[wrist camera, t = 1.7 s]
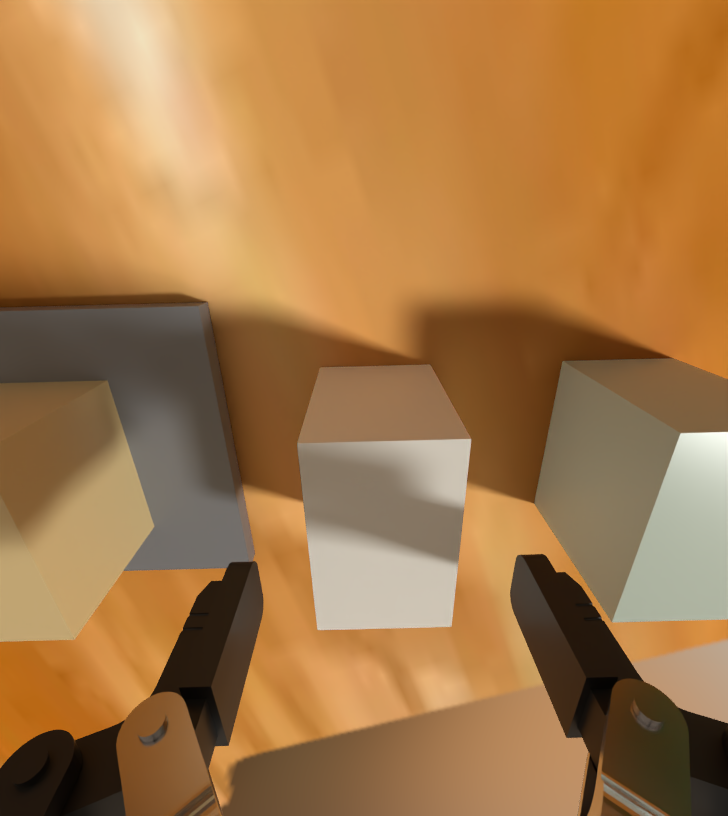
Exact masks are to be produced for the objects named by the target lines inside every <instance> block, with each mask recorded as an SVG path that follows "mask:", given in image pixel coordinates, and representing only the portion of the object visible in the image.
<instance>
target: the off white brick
mask: <svg viewBox="0 0 728 816" xmlns="http://www.w3.org/2000/svg"><path fill="white" fill-rule="evenodd" d="M470 447H471V437H470V435H469V434H468V432H467V430H466V428H465V426H464V425H463V423H462V421H461V419H460V417H459V416H458V414H457V412H456V410H455V408H454V406H453V405H452V403H451V401H450V399H449V397H448V396H447V394H446V392H445V390H444V388H443V387H442V385H441V383H440V381H439V379H438V377H437V376H436V374H435V372H434V370H433V368H432V367H431V365H430V364H428V365H389V366H351V367H320V369H319V372H318V376H317V379H316V382H315V386H314V389H313V392H312V395H311V399H310V402H309V405H308V409H307V412H306V415H305V419H304V422H303V425H302V428H301V432H300V435H299V438H298V442H297V448H298V457H299V466H300V475H301V484H302V494H303V503H304V512H305V521H306V530H307V539H308V548H309V557H310V566H311V575H312V584H313V593H314V602H315V611H316V620H317V629H318V630H343V629H382V628H421V627H451V626H452V616H453V607H454V598H455V588H456V579H457V569H458V560H459V551H460V541H461V532H462V523H463V513H464V504H465V494H466V485H467V476H468V466H469V457H470Z"/></svg>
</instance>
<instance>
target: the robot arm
mask: <svg viewBox="0 0 728 816" xmlns="http://www.w3.org/2000/svg"><path fill="white" fill-rule="evenodd" d="M510 597H511V604H512V608H513V611H514V614H515V616H516V619H517V621H518V624H519V626H520V628H521V631H522V633H523V635H524V638H525V640H526V643H527V645H528V647H529V650H530V652H531V654H532V657H533V659H534V662H535V664H536V666H537V669H538V671H539V673H540V676H541V678H542V681H543V683H544V685H545V688H546V690H547V692H548V695H549V697H550V699H551V702H552V704H553V706H554V709H555V711H556V714H557V716H558V718H559V721H560V723H561V726H562V728H563V730H564V733H565V735H566V737H567V738H577V737H582V738H583V740H584V742H585V744H586V747H587V749H588V751H589V752H588V755H587V759H586V765H585V771H584V778H583V784H582V790H581V796H580V802H579V808H578V814H577V816H728V723H724V722H721V721H718V720H715V719H711V718H708V717H705V716H701V715H698V714H695V713H691V712H688V711H685V710H683V709H680V708H678V707H677V706H676V705H675V704H674V703H673V702H672V701H671V700H670V699H669V698H668V697H667V696H666V695H665V694H664V693H662V692H661V691H660V690H658V689H657V688H655V687H654V686H652V685H650V684H648V683H646V682H644V681H643V680H642V678H641V677H640V676H639V674H638V673H637V671H636V670H635V668H634V667H633V665H632V664H631V662H630V661H629V659H628V657H627V656H626V654H625V653H624V651H623V650H622V648H621V647H620V645H619V644H618V642H617V641H616V639H615V637H614V636H613V634H612V633H611V631H610V630H609V628H608V627H607V625H606V624H605V622H604V621H602V619H601V616H600V614H599V613H598V611H597V610H596V608H595V607H593V605H592V602H591V601H590V599H589V597H588V596H587V594H586V593H585V591H584V590H583V588H582V587H581V586H580V585H579V584H578V583H577V582H576V581H574V580H573V579H572V578H571V577H570V576H569V575H568V574H566V573H565V572H558V573H556V571H555V570H554V568H553V566H552V565H551V563H550V561H549V560H548V558H547V557H546V556H545V555H543V554H535V555H518V556H517V558H516V562H515V567H514V573H513V579H512V584H511V590H510ZM262 613H263V593H262V588H261V582H260V577H259V571H258V566H257V563H256V562H255V561H252V562H231V563H230V564H229V565H228V567H227V570H226V572H225V575H224V577H223V579H222V581H211V582H210V583H209V584H208V585H207V586H206V587H205V589H204V590H203V591H202V592H201V593H200V594H199V595H198V596H197V598H196V601H195V603H194V605H193V607H192V609H191V611H190V616H189V617H188V618H187V620H186V622H185V625H184V627H183V631H181V633H180V635H179V638H178V640H177V642H176V644H175V646H174V649H173V651H172V653H171V655H170V657H169V659H168V662H167V664H166V666H165V668H164V670H163V673H162V675H161V677H160V679H159V681H158V683H157V686H156V688H155V689H154V691H153V693H152V694H151V696H150V697H149V698H147V699H146V700H144V701H143V702H141V703H140V704H139V705H138V706H137V707H135V709H134V710H133V711H132V712H131V713H130V714H129V715H128V717H127V718H126V720H124V721H122V722H121V723H119V724H117V725H114V726H112V727H109V728H107V729H104V730H101V731H99V732H96V733H93V734H91V735H88V736H85V737H83V738H80V739H77V740H74V738H73V737H72V735H71V734H70V733H69V732H67V731H64V730H52V731H48V732H45V733H43V734H40V735H38V736H36V737H35V738H33V739H31V740H30V741H28V742H27V743H25V744H24V745H23V746H21V747H20V748H19V749H18V750H17V751H16V752H15V753H14V754H13V755H12V756H11V757H10V758H9V759H8V760H7V761H6V762H5V763H4V765H3V766H2V767H1V768H0V816H223V813H222V810H221V807H220V804H219V801H218V797H217V794H216V791H215V788H214V785H213V782H212V779H211V775H210V772H209V769H208V768H209V765H210V761H211V758H212V754H213V751H214V747H215V746H229V742H230V738H231V734H232V731H233V727H234V723H235V719H236V715H237V711H238V707H239V704H240V700H241V696H242V692H243V688H244V684H245V680H246V677H247V673H248V669H249V665H250V661H251V657H252V654H253V650H254V646H255V642H256V638H257V634H258V630H259V627H260V623H261V619H262Z"/></svg>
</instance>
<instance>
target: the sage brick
mask: <svg viewBox="0 0 728 816" xmlns="http://www.w3.org/2000/svg"><path fill="white" fill-rule="evenodd" d="M534 504H535V506H536V507H537V509H538V510H539V512H540V513H541V515H542V516H543V518H544V519H545V521H546V522H547V524H548V525H549V527H550V528H551V530H552V532H553V533H554V535H555V536H556V538H557V539H558V541H559V542H560V544H561V545H562V547H563V548H564V550H565V551H566V553H567V554H568V556H569V557H570V559H571V561H572V562H573V564H574V565H575V567H576V568H577V570H578V571H579V573H580V574H581V576H582V577H583V579H584V580H585V582H586V583H587V585H588V586H589V588H590V590H591V591H592V593H593V594H594V596H595V597H596V599H597V600H598V602H599V603H600V605H601V606H602V608H603V609H604V611H605V612H606V614H607V615H608V617H609V619H610V620H611V622H644V621H682V620H721V619H728V379H725V378H723V377H720V376H718V375H715V374H712V373H710V372H707V371H705V370H702V369H699V368H697V367H694V366H692V365H689V364H687V363H684V362H681V361H679V360H676V359H674V358H659V359H620V360H582V361H562V366H561V371H560V376H559V381H558V386H557V391H556V396H555V401H554V406H553V411H552V416H551V421H550V426H549V431H548V436H547V441H546V446H545V451H544V456H543V461H542V466H541V471H540V476H539V481H538V486H537V491H536V496H535V501H534Z"/></svg>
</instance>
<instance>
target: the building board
mask: <svg viewBox="0 0 728 816" xmlns="http://www.w3.org/2000/svg"><path fill="white" fill-rule="evenodd" d="M254 555H255V551H254V546H253V540H252V535H251V530H250V525H249V519H248V514H247V509H246V503H245V498H244V493H243V487H242V482H241V477H240V471H239V466H238V461H237V456H236V450H235V445H234V440H233V434H232V429H231V424H230V418H229V413H228V408H227V403H226V397H225V392H224V387H223V381H222V376H221V371H220V365H219V360H218V355H217V350H216V344H215V339H214V334H213V328H212V323H211V318H210V312H209V307H208V302H193V303H155V304H116V305H77V306H39V307H0V642H2V641H40V640H75V638H76V637H77V635H78V634H79V633H80V631H81V630H82V628H83V627H84V626H85V624H86V623H87V621H88V620H89V619H90V617H91V616H92V614H93V613H94V611H95V610H96V609H97V607H98V606H99V604H100V603H101V602H102V600H103V599H104V597H105V596H106V594H107V593H108V592H109V590H110V589H111V587H112V586H113V585H114V583H115V582H116V580H117V579H118V577H119V576H120V575H121V573H122V572H123V571H132V570H170V569H208V568H227V567H228V565H229V564H230V563H231V562H252V561H253V558H254Z"/></svg>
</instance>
